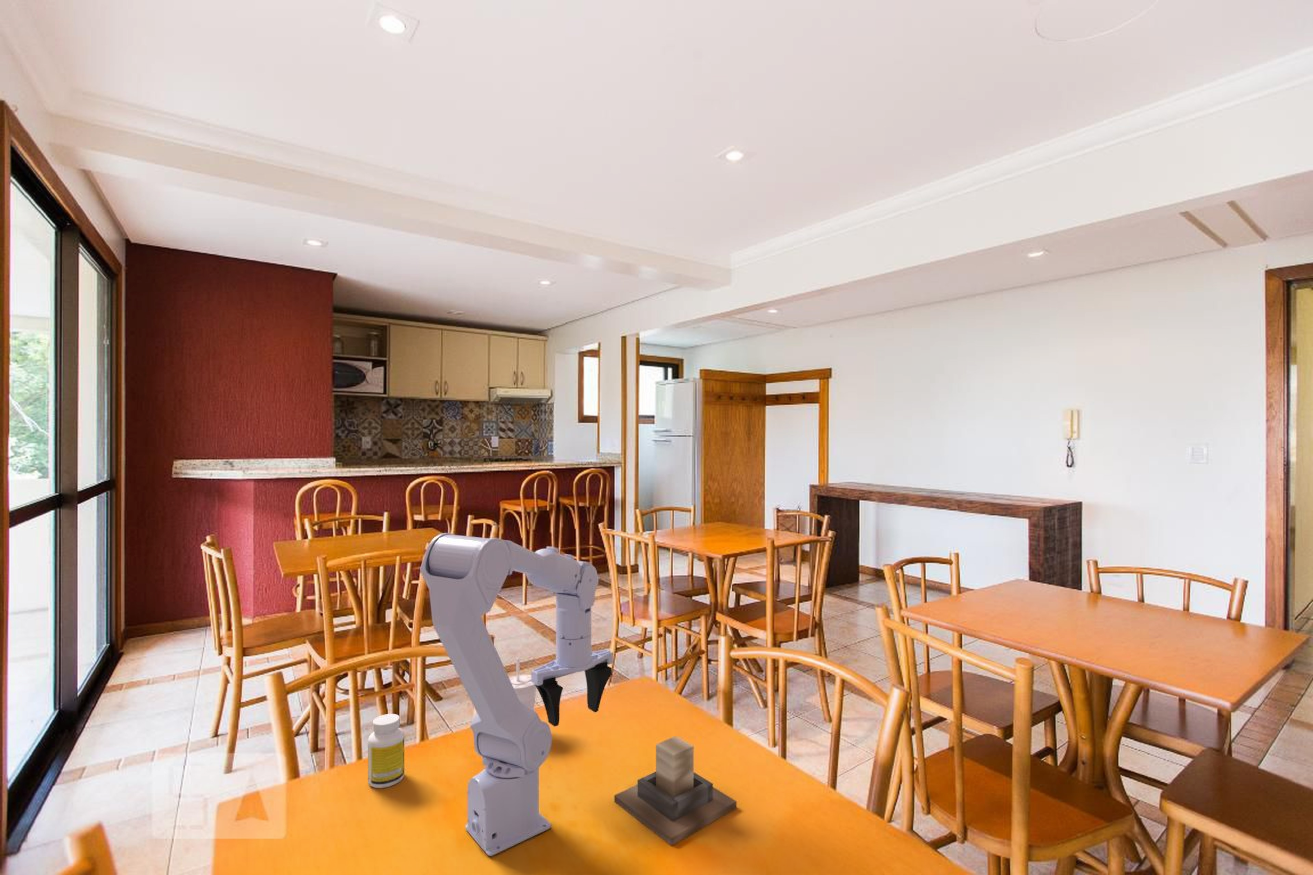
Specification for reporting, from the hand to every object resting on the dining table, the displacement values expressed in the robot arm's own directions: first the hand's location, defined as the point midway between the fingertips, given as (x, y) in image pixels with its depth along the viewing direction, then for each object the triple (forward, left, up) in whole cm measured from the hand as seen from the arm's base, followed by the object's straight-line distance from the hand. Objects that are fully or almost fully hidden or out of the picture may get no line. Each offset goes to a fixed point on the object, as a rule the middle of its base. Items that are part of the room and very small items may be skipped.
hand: (573, 716), depth 102 cm
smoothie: (0, +18, -10) cm, 20 cm away
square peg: (+7, -17, -8) cm, 20 cm away
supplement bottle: (-24, +18, -10) cm, 31 cm away
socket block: (+7, -17, -9) cm, 21 cm away
